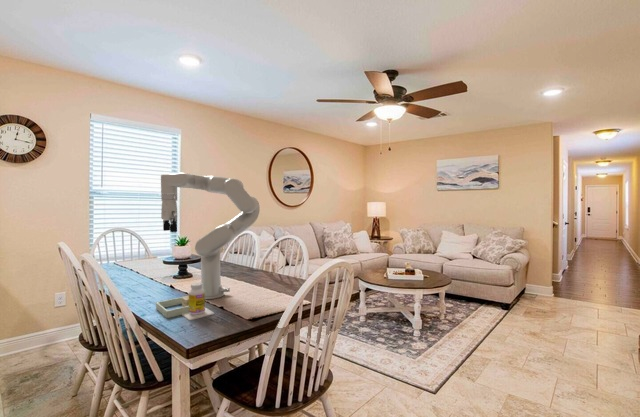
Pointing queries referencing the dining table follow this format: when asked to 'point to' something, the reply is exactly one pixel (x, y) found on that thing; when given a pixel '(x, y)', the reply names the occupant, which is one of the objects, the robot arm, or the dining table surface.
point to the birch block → (185, 301)
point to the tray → (171, 302)
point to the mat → (192, 317)
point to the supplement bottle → (196, 299)
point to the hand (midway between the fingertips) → (170, 231)
